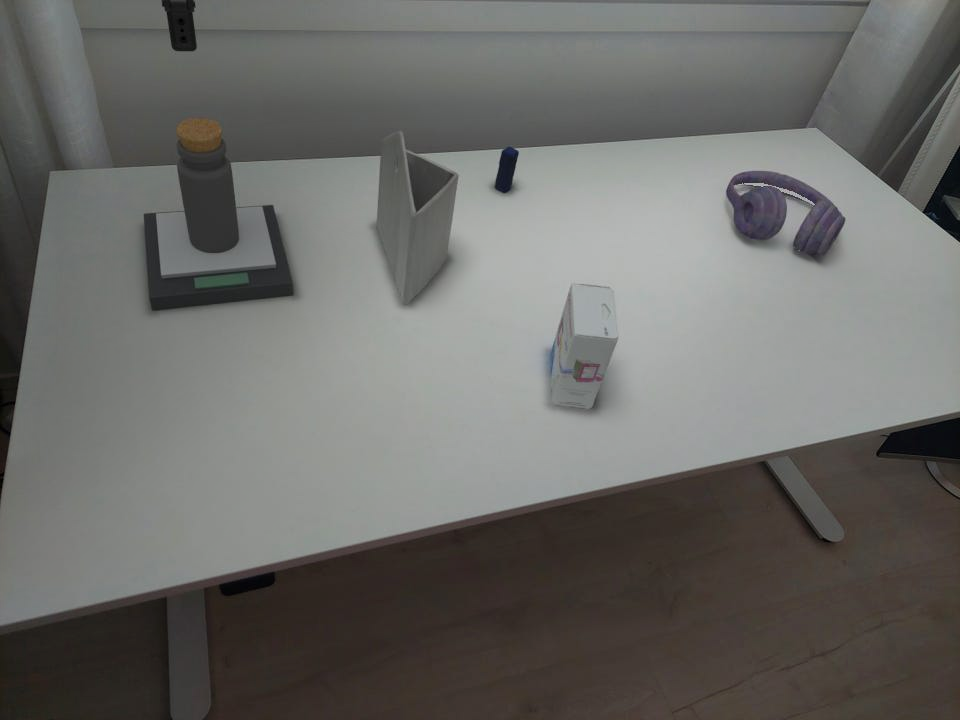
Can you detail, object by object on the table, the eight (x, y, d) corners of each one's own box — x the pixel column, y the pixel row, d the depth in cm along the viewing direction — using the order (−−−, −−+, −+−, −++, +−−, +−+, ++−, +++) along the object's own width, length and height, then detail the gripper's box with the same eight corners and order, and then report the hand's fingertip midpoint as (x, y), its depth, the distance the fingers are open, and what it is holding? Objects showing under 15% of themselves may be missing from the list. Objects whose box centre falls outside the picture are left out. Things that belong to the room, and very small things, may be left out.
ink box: (547, 352, 88) (571, 279, 80) (587, 357, 89) (614, 285, 80) (549, 405, 82) (575, 332, 74) (592, 410, 83) (622, 339, 74)
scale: (152, 311, 83) (148, 293, 81) (146, 227, 93) (142, 209, 91) (293, 296, 88) (292, 278, 86) (273, 217, 98) (272, 200, 96)
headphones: (839, 272, 109) (818, 218, 125) (867, 224, 104) (841, 174, 120) (721, 239, 110) (715, 190, 126) (743, 190, 105) (734, 145, 121)
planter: (462, 299, 92) (486, 169, 78) (402, 305, 90) (416, 172, 76) (430, 223, 102) (446, 95, 89) (375, 226, 100) (383, 96, 86)
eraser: (492, 188, 111) (500, 149, 106) (501, 183, 112) (509, 144, 107) (503, 195, 110) (512, 156, 105) (512, 189, 112) (520, 150, 107)
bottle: (214, 218, 92) (199, 109, 81) (249, 237, 90) (238, 129, 79) (178, 239, 88) (158, 128, 77) (214, 260, 86) (198, 149, 75)
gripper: (101, -199, 61) (136, -2, 73) (102, -152, 53) (142, 64, 64) (194, -188, 64) (214, 0, 76) (210, -142, 55) (230, 64, 67)
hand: (181, 29), depth 70 cm, fingers open, 8 cm apart
